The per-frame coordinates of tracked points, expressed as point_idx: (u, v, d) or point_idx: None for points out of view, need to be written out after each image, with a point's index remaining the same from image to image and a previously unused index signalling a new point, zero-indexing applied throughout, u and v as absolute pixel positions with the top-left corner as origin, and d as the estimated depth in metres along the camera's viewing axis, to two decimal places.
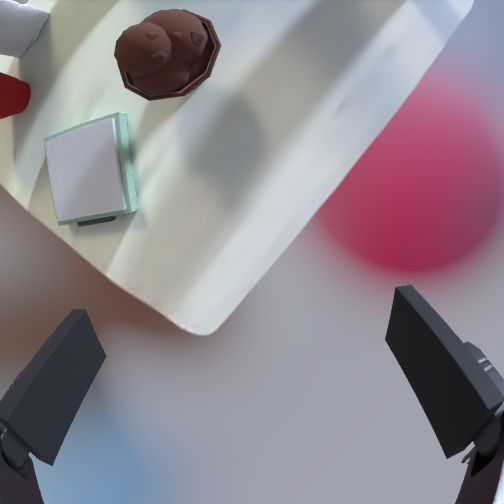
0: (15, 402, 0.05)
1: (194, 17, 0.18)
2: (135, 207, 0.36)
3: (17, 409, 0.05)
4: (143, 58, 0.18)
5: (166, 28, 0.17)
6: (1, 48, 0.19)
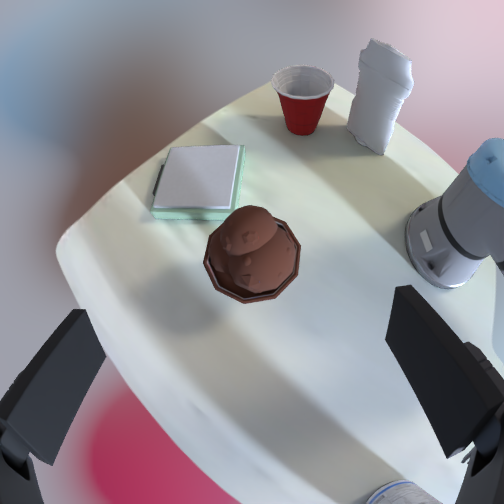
0: (15, 402, 0.05)
1: (273, 281, 0.28)
2: (155, 215, 0.44)
3: (17, 409, 0.05)
4: (227, 228, 0.27)
5: (257, 251, 0.27)
6: (354, 106, 0.43)
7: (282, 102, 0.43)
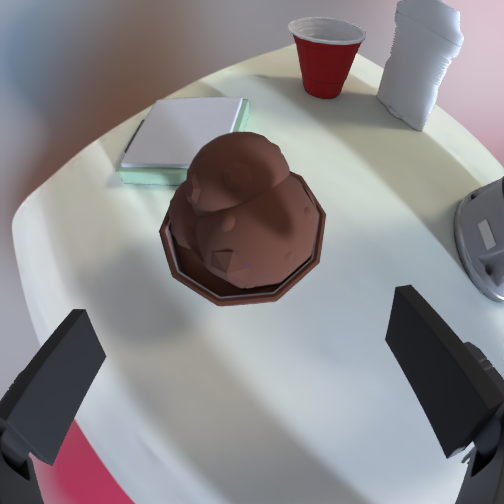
0: (15, 402, 0.05)
1: (275, 266, 0.14)
2: (123, 178, 0.31)
3: (17, 409, 0.05)
4: (196, 162, 0.14)
5: (247, 205, 0.14)
6: (388, 69, 0.30)
7: (300, 52, 0.30)
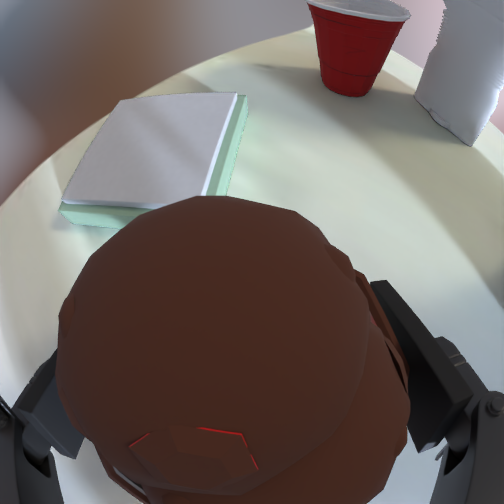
0: (40, 394, 0.06)
1: None
2: (68, 218, 0.20)
3: (42, 401, 0.05)
4: (59, 344, 0.03)
5: (242, 501, 0.03)
6: (434, 62, 0.20)
7: (320, 30, 0.19)
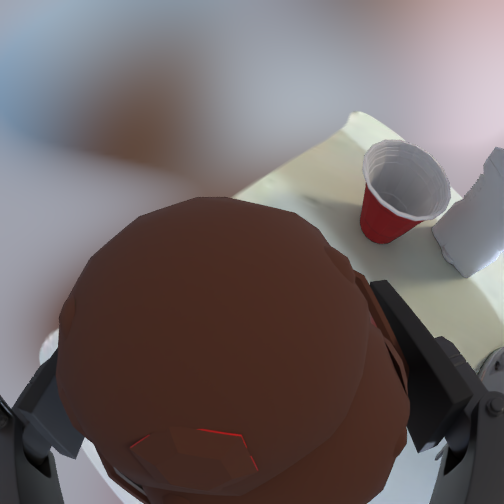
0: (40, 394, 0.06)
1: None
2: None
3: (42, 401, 0.05)
4: (59, 345, 0.03)
5: (242, 502, 0.03)
6: (456, 215, 0.29)
7: (371, 205, 0.28)
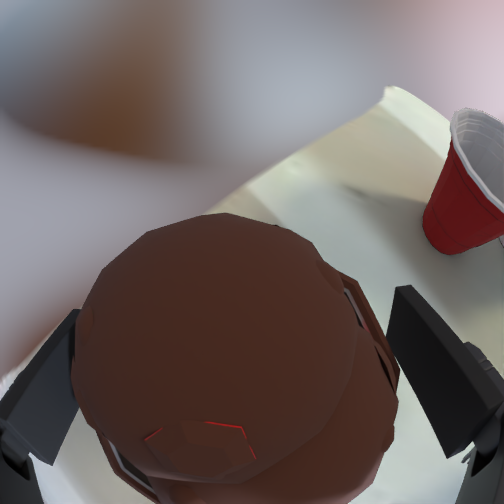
0: (15, 402, 0.05)
1: None
2: None
3: (17, 409, 0.05)
4: (76, 350, 0.04)
5: (241, 490, 0.03)
6: None
7: (459, 200, 0.16)
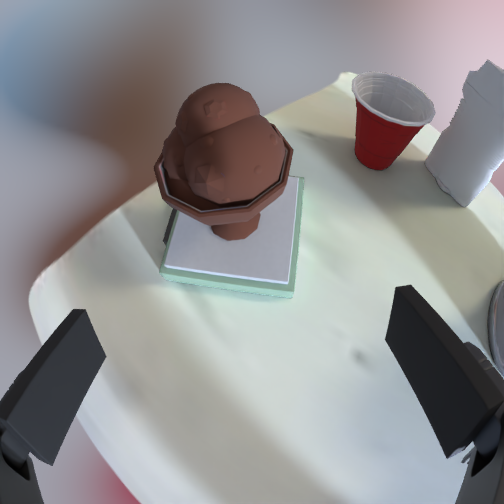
0: (15, 402, 0.05)
1: (246, 177, 0.17)
2: (166, 277, 0.29)
3: (17, 409, 0.05)
4: (185, 103, 0.17)
5: (223, 129, 0.16)
6: (445, 141, 0.29)
7: (363, 121, 0.29)
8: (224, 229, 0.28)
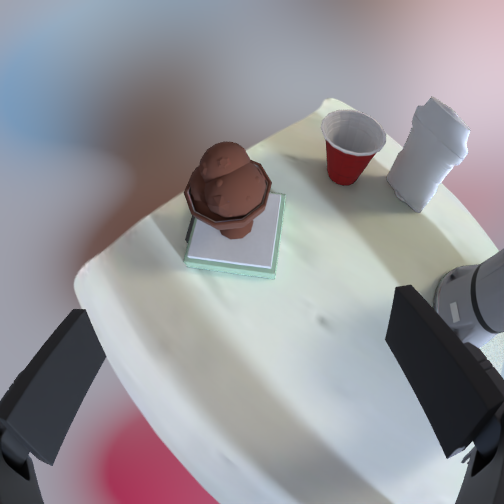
0: (15, 402, 0.05)
1: (241, 203, 0.31)
2: (188, 264, 0.43)
3: (17, 409, 0.05)
4: (205, 156, 0.30)
5: (228, 175, 0.30)
6: (399, 161, 0.42)
7: (330, 151, 0.42)
8: (228, 231, 0.41)
